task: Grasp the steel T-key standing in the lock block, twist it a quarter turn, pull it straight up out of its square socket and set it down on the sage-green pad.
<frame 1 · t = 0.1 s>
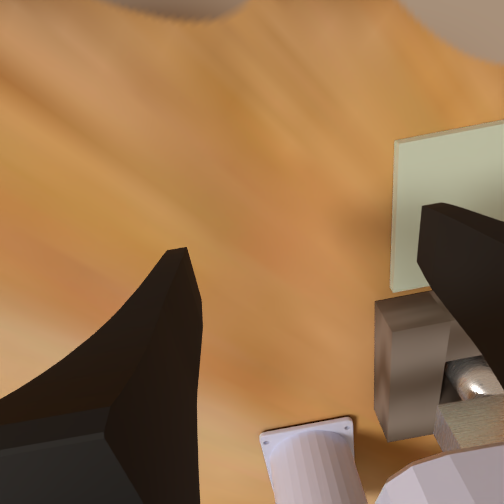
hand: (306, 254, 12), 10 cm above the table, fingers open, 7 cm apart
lock block: (451, 346, 30), on the table
pad: (474, 206, 24), on the table
t-key: (484, 392, 26), in the lock block
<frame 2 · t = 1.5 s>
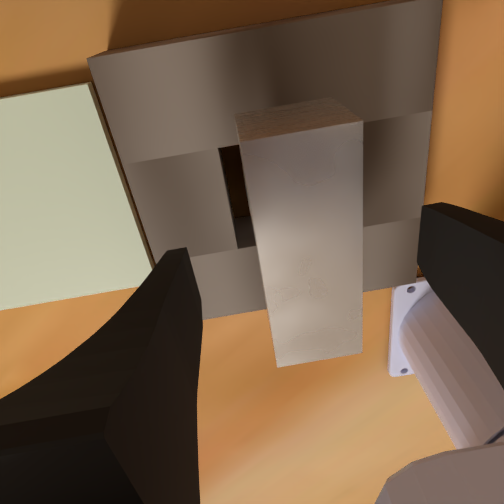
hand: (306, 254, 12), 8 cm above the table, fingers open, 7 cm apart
lock block: (273, 167, 19), on the table
pad: (26, 210, 19), on the table
t-key: (288, 205, 15), in the lock block
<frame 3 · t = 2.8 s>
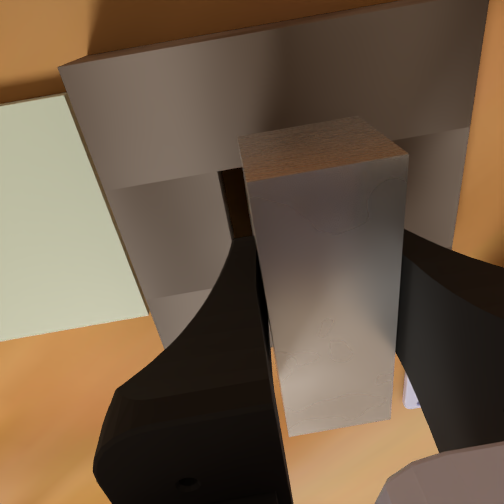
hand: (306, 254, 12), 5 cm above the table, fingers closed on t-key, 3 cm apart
lock block: (280, 188, 16), on the table
t-key: (300, 238, 13), in the lock block, touching gripper
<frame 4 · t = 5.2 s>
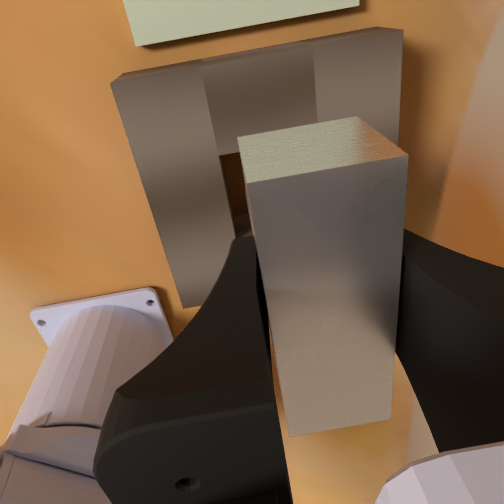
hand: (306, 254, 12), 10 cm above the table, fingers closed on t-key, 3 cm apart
lock block: (266, 171, 22), on the table
t-key: (300, 238, 13), point 10 cm above the table, touching gripper
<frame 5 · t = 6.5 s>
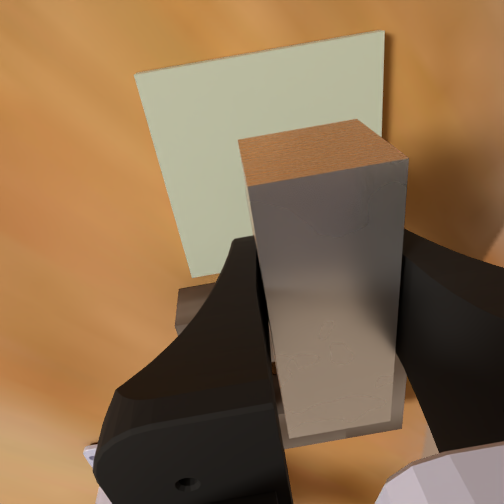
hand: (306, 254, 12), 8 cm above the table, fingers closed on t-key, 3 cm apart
lock block: (294, 346, 25), on the table
pad: (272, 168, 19), on the table
t-key: (300, 240, 13), point 7 cm above the table, touching gripper
when the fingers open (7 cm above the table, at t = 7.4 s): t-key stays where it is, resting on pad.
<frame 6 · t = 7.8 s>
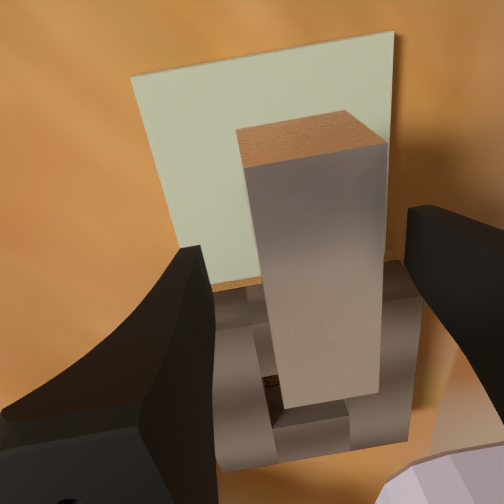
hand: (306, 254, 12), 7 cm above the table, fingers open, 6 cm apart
lock block: (297, 356, 24), on the table
pad: (275, 174, 18), on the table
t-key: (295, 226, 14), on the pad, point 5 cm above the table
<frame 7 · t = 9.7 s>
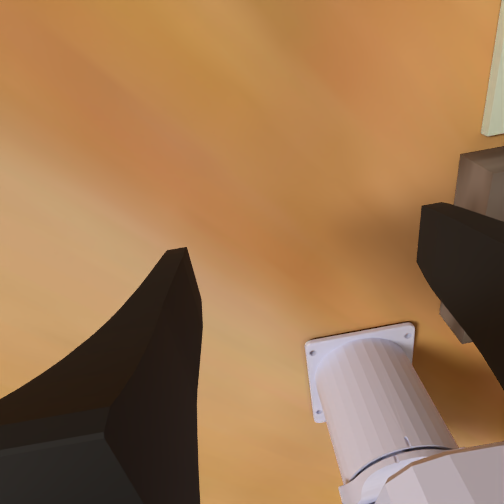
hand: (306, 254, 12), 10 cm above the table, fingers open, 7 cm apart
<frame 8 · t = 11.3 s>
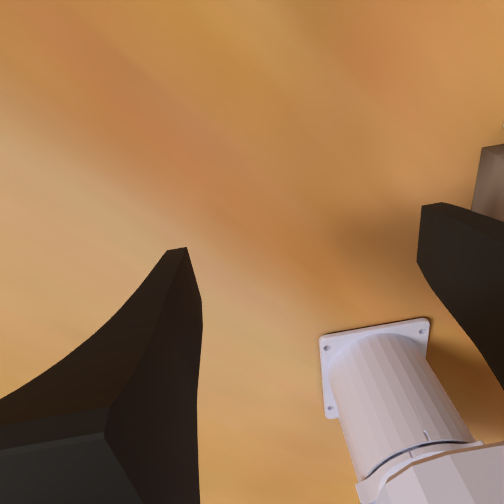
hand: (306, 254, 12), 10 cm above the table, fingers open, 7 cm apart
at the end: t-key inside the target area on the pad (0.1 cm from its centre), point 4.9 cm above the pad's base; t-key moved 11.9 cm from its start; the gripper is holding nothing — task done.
